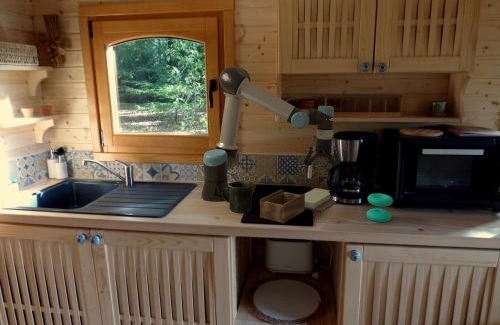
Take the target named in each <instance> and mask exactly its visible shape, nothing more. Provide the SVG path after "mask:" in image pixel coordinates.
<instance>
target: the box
mask: <svg viewBox="0 0 500 325" xmlns="http://www.w3.org/2000/svg"><path fill="white" fill-rule="evenodd" d="M305 210H306V209H305V193H302V194H299V193H297V194H296V193H292V192H288V191H287V192H286V191H284V189H279V190H278V191H275V192H273V193H271V194H269V195H267V196H264V197H262V198H260V199H259V218H263V219H266V220H270V221H272V222H277V223H281V224H285V223H287V222H289V221H290V220H292V219H293V218H295V217H297V216H298V215H300V214H302V213H304V212H305ZM296 215H297V216H296ZM288 220H289V221H288Z"/></svg>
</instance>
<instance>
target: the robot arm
mask: <svg viewBox="0 0 500 325" xmlns="http://www.w3.org/2000/svg"><path fill="white" fill-rule="evenodd" d="M251 79H252V78H251V75H250V73H249V72H248V71H247V70H246V69H244V68H242V67H238V66H237V67H236V66H228V67H225V68H224V69H223V70H222V71H220V74H219V84H220V86H221V87H222V89H223V94H224V96H225V101H224V108H223V114H222V123H221V128H220V136H219V141H218V142H217V143H216V144H215V149H211V150H207V151H206V152H204V154H203V158H202V160H203V178H204V180H203V181H204V184H203V187H202V191H201V194H200V195H201V199H202V200H204V201H207V202H220V201H221V202H222V201H225V200H224V199H223V196H222V190H223V189H224V188H227V187H229V186H228V184H229V182H228V172H229V171H230V170H232V169H233V168H235V166H236V165H237V164H238V161H239V153H238V150H239V148H238V147H239V146H237V144H236V143H237V138H238V131H239V124H240V119H241V112H242V107H243V106H242V105H243V104H242V103H243V100H244V99H245V100H249V101H250V102H251V103H254V104H255V105H256V106H259V107H260V108H263V109H264V110H265V111H268V112H269V113H271V114H273V115H275V116H277V117H278V118H280V119H282V120H284V121H285V122H287V123H288V124H290V125H292V127H293V128H295V129H297V130H302V129H305V128H307V127H308V126H316V127H317V128H316V137H317V138H316V141H315V142H316V143H315V145H316V146H314V145H312V146H310V147H309V151H308V153H307V154H306V156H305V158H304V160H303V164H305V165H306V172H307V179H311V178H312V176H313V170H312V169H313V165H312V164H313V163H314V161H315V160H316V159H317V158H318V157H319V158H327V159H328V161H329V163H330V164H331V165H332V167H333V168H334V167H335V166H336V165H339V164H340V160H341V159H340V160H339V157H340V156H339V157H338V155H339V154H338V155H337V151H336V149H337V148H335V149H334V148H332V146H333V139H332V138H333V134H334V133H333V132H334V131H333V130H334V121H330V120H329V119H331V118H333V117H334V118H335V116H334V115H335V108H334V107H333V106H332V105H319V106H318V108H317V109H302V108H298V107H296V106H294V105H292V103H291V104H290V103H288V102H287V101H286V100H284V99H282V98H280V97H279V96H276V95H275V94H272V93H271V92H269V91H267V90H266V89H264V88H262V87H260V86H258V85H257V84H254V83H253V82H251V81H252V80H251ZM326 119H327V120H326ZM314 152H316V153H315V154H314ZM332 154H333V155H332ZM312 155H313V156H312ZM224 194H225V197H226V198H227V199H228V200H229V190H224Z"/></svg>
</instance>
